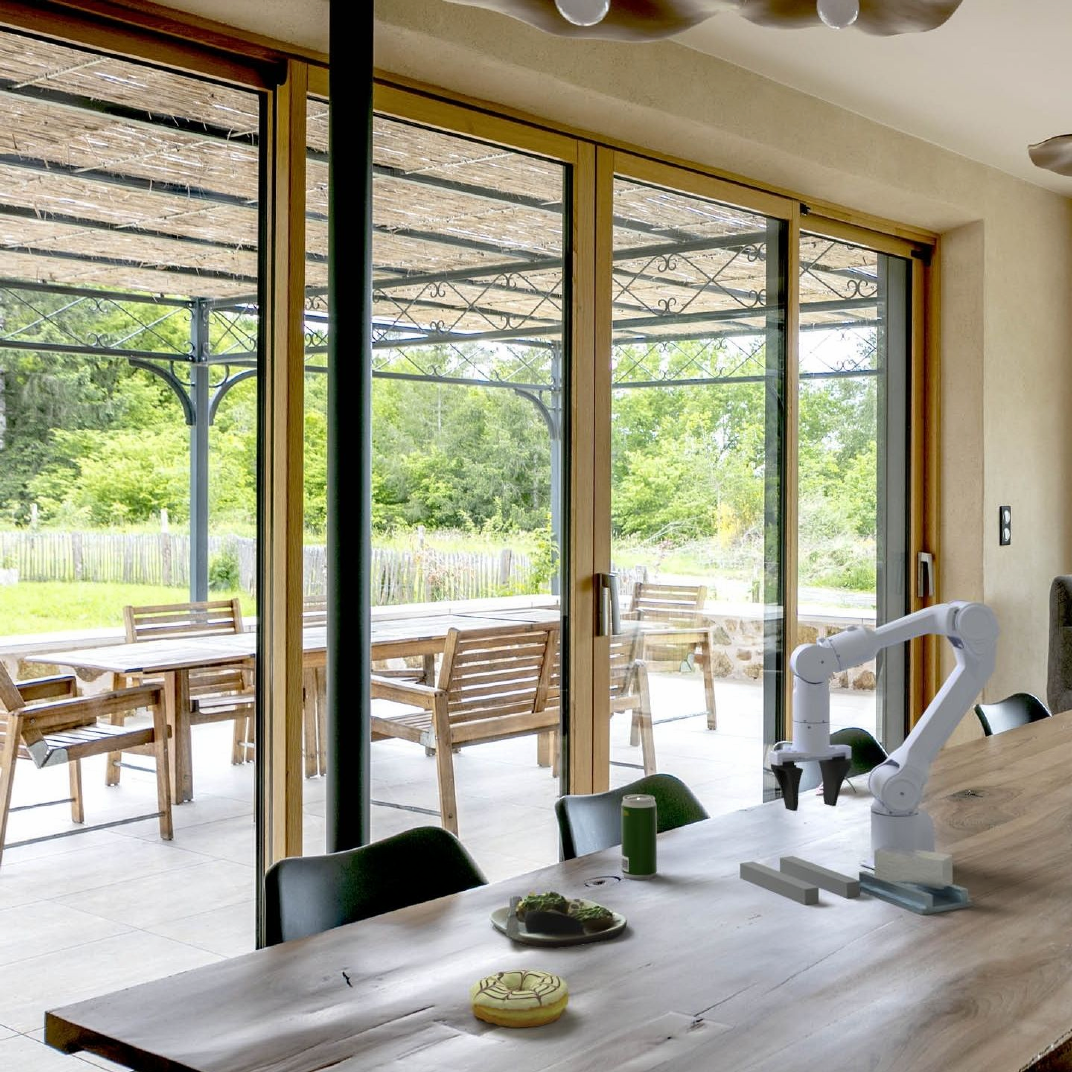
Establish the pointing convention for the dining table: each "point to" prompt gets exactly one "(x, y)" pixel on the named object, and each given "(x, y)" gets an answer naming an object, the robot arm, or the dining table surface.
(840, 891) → the grey bars
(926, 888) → the cradle
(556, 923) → the salad plate
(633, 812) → the beer can
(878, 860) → the rectangular block
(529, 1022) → the decorated donut
